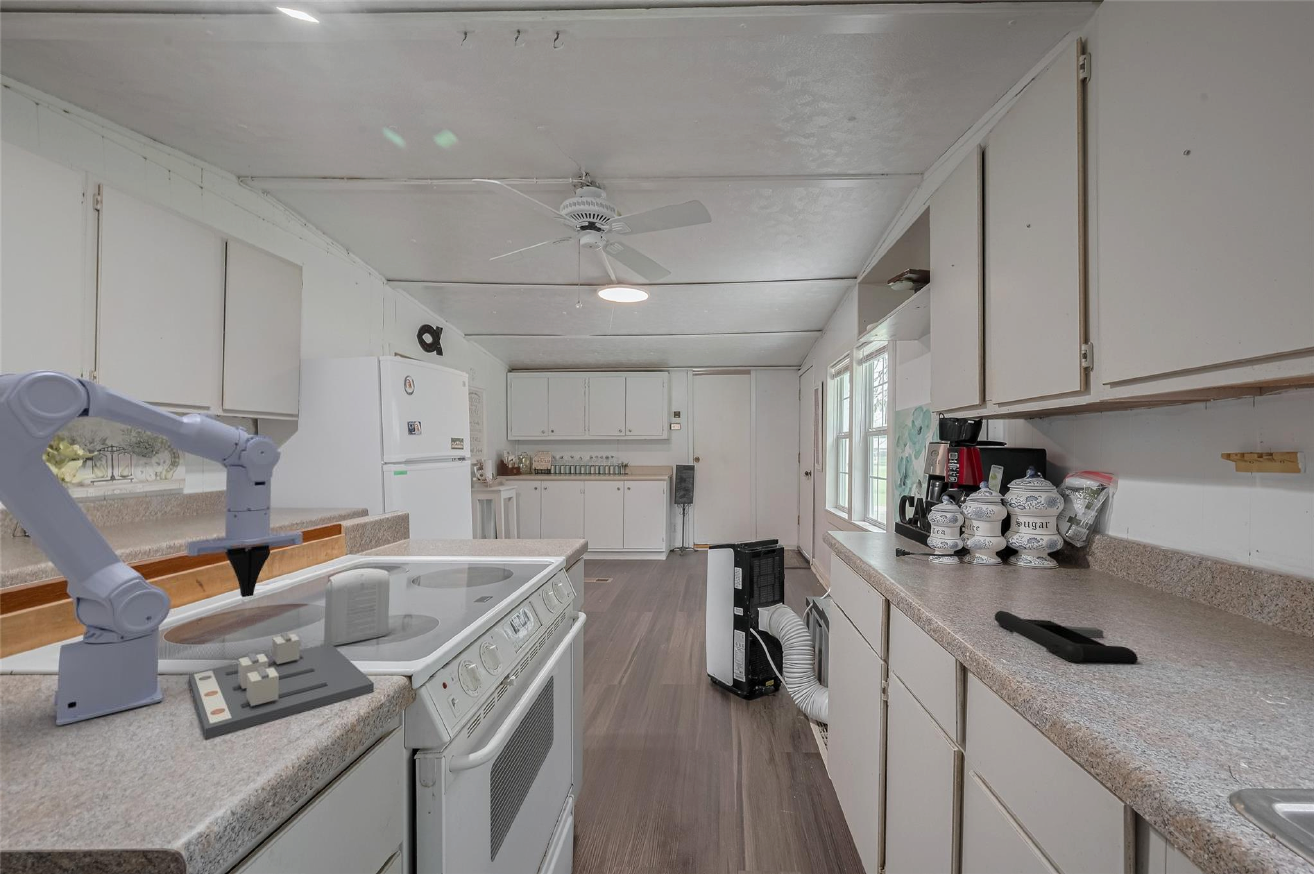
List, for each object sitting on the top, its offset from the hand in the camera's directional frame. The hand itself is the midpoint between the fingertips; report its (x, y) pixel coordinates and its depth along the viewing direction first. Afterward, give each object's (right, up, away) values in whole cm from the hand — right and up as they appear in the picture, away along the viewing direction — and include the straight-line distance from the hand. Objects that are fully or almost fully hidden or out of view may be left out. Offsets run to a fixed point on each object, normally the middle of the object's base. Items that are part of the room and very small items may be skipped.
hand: (247, 595), depth 86 cm
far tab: (+8, -9, -3) cm, 13 cm away
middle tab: (+10, -8, -12) cm, 18 cm away
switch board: (+12, -10, -10) cm, 18 cm away
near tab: (+15, -8, -17) cm, 24 cm away
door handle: (+137, -11, +8) cm, 138 cm away
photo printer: (+12, -11, +10) cm, 19 cm away
